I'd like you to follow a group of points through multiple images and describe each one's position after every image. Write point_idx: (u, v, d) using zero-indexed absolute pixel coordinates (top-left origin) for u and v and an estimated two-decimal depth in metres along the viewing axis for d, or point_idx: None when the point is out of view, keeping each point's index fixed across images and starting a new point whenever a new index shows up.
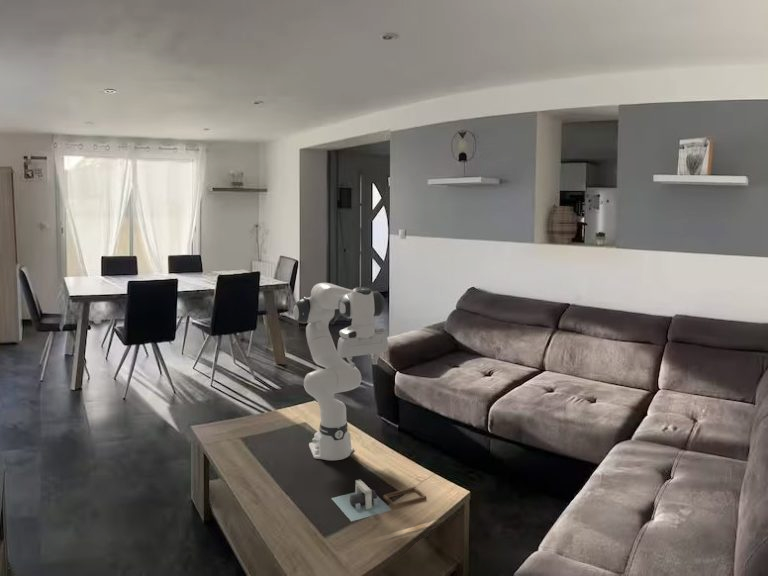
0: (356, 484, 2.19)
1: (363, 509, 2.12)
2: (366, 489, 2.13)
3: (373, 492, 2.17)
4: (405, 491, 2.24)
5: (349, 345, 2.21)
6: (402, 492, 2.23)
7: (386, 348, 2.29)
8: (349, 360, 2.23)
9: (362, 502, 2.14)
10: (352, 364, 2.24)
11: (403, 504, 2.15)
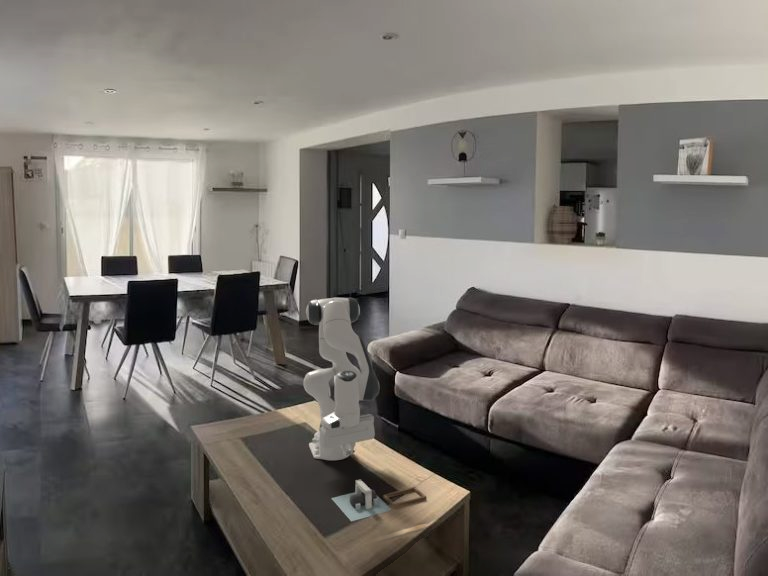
0: (356, 484, 2.19)
1: (363, 509, 2.12)
2: (366, 489, 2.13)
3: (373, 492, 2.17)
4: (405, 491, 2.24)
5: (332, 435, 2.05)
6: (402, 492, 2.23)
7: (372, 435, 2.12)
8: (343, 448, 2.08)
9: (362, 502, 2.14)
10: (346, 452, 2.09)
11: (403, 504, 2.15)
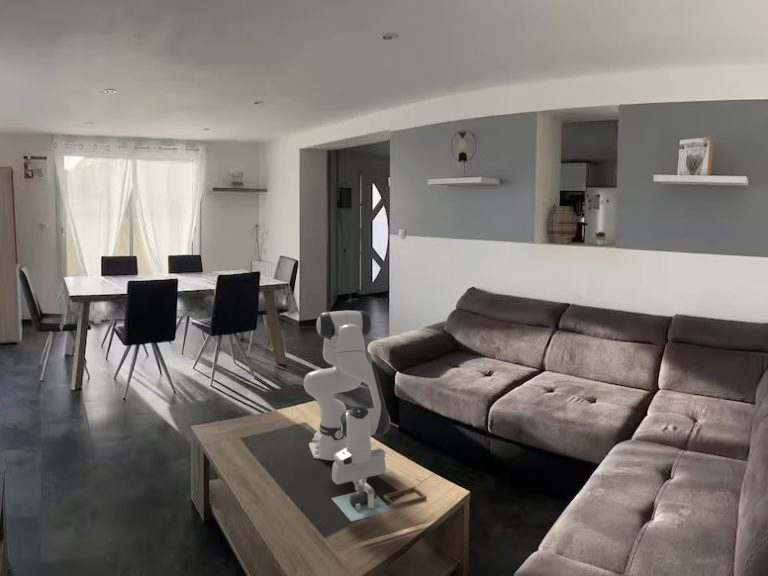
0: (358, 483, 2.19)
1: (363, 509, 2.12)
2: (368, 488, 2.13)
3: None
4: (405, 491, 2.24)
5: (344, 471, 2.10)
6: (402, 492, 2.23)
7: (383, 470, 2.17)
8: (354, 483, 2.13)
9: (362, 502, 2.14)
10: (358, 487, 2.14)
11: (403, 504, 2.15)
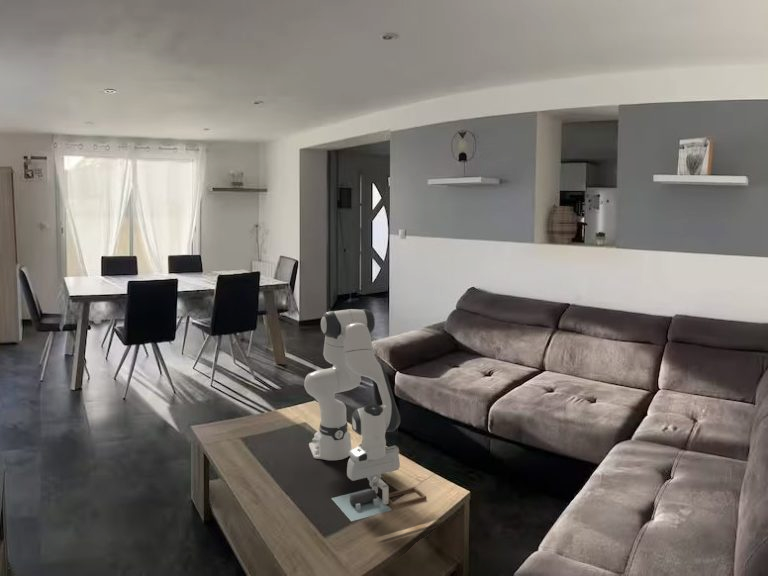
0: None
1: (363, 509, 2.12)
2: (383, 485, 2.16)
3: (373, 492, 2.17)
4: (405, 491, 2.24)
5: (359, 467, 2.12)
6: (402, 492, 2.23)
7: (397, 466, 2.19)
8: (369, 480, 2.15)
9: (362, 502, 2.14)
10: (372, 483, 2.16)
11: (403, 504, 2.15)
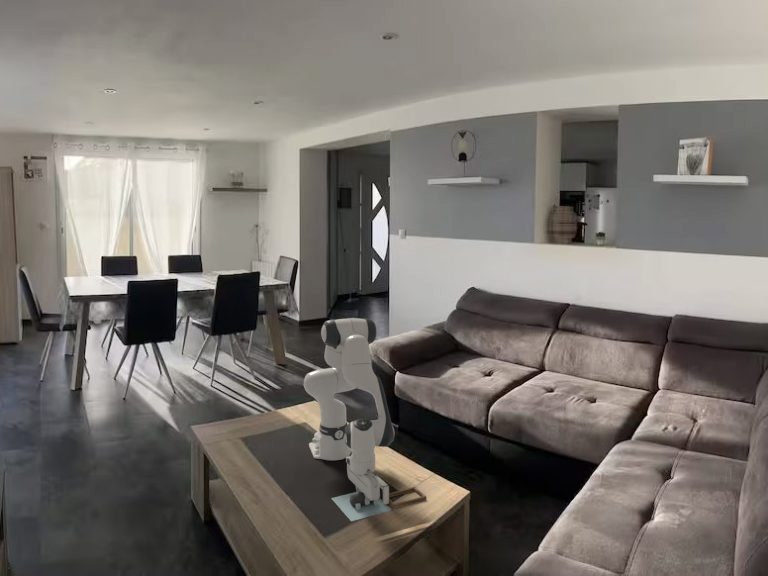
0: None
1: (363, 509, 2.12)
2: (383, 485, 2.16)
3: None
4: (405, 491, 2.24)
5: (352, 470, 2.20)
6: (402, 492, 2.23)
7: (369, 497, 2.07)
8: (356, 488, 2.19)
9: (362, 502, 2.14)
10: (357, 493, 2.18)
11: (403, 504, 2.15)
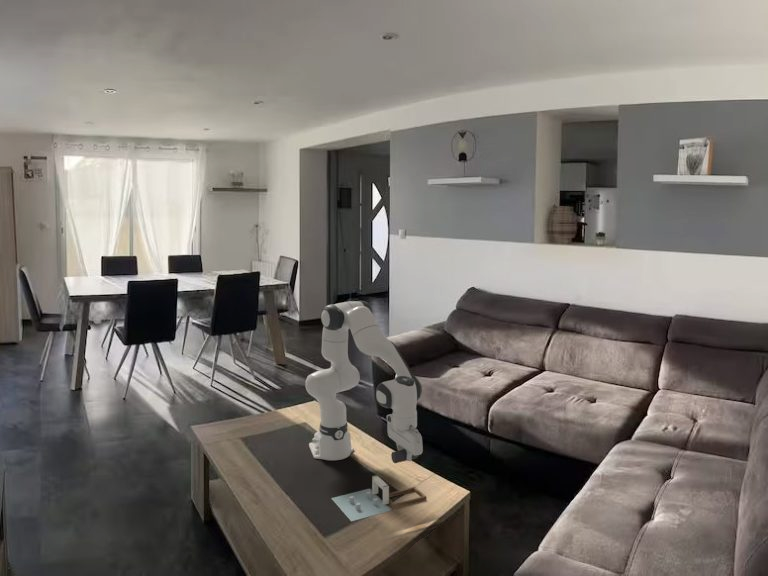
0: (373, 480, 2.22)
1: (363, 509, 2.12)
2: (383, 485, 2.16)
3: None
4: (405, 491, 2.24)
5: (392, 428, 2.21)
6: (402, 492, 2.23)
7: (413, 451, 2.08)
8: None
9: (404, 458, 2.15)
10: None
11: (403, 504, 2.15)
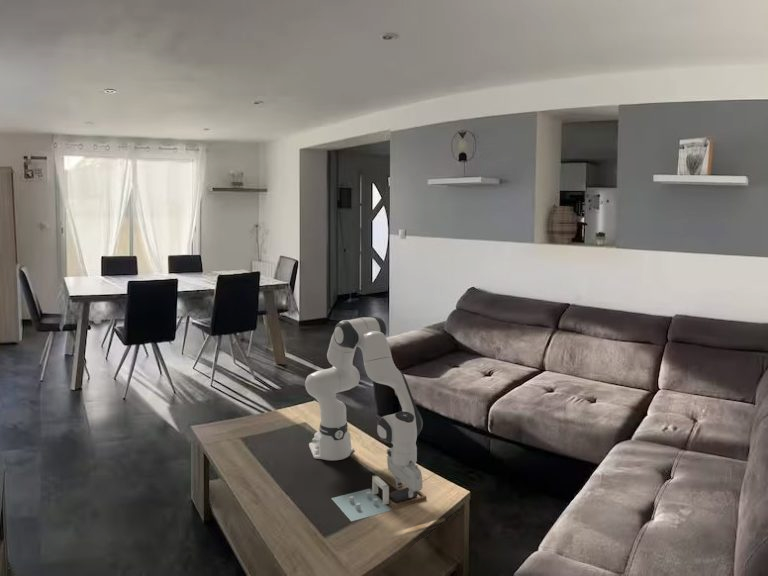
0: (373, 480, 2.22)
1: (363, 509, 2.12)
2: (383, 485, 2.16)
3: None
4: None
5: (392, 462, 2.23)
6: None
7: (412, 487, 2.10)
8: None
9: (403, 498, 2.18)
10: (396, 483, 2.23)
11: (403, 504, 2.15)
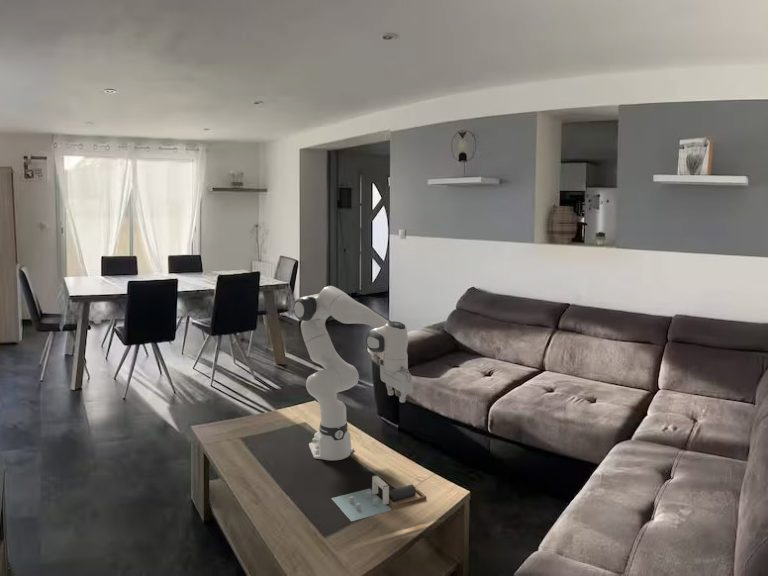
0: (373, 480, 2.22)
1: (363, 509, 2.12)
2: (383, 485, 2.16)
3: (410, 485, 2.23)
4: None
5: (385, 372, 2.34)
6: None
7: (403, 390, 2.21)
8: (386, 386, 2.35)
9: (401, 493, 2.19)
10: (388, 391, 2.35)
11: (403, 504, 2.15)
